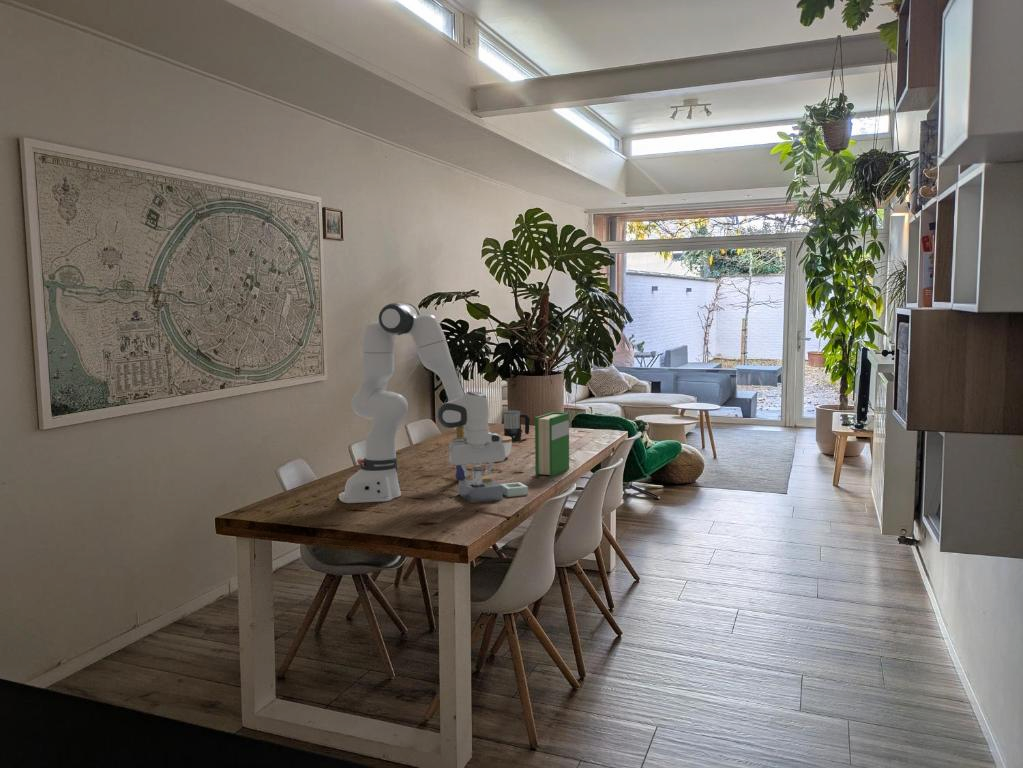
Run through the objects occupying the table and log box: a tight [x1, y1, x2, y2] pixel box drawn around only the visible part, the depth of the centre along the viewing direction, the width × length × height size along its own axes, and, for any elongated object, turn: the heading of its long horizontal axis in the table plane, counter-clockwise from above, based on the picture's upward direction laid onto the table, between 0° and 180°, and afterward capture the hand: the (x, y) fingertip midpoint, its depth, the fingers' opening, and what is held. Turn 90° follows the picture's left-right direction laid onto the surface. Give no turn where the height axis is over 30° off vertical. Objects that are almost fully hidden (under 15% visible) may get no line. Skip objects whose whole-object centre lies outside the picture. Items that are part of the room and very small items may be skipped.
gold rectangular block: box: [482, 475, 493, 482], centre depth 285 cm, size 4×4×6 cm
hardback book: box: [534, 411, 570, 478], centre depth 320 cm, size 18×7×24 cm, turn 153°
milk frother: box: [502, 410, 531, 442], centre depth 405 cm, size 14×16×15 cm
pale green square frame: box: [499, 481, 529, 498], centre depth 285 cm, size 8×8×3 cm
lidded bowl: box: [501, 435, 513, 459], centre depth 353 cm, size 13×13×11 cm
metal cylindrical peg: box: [472, 464, 483, 487], centre depth 276 cm, size 4×4×12 cm
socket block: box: [458, 479, 504, 504], centre depth 280 cm, size 12×14×5 cm
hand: (477, 475), depth 276 cm, fingers open, 6 cm apart
